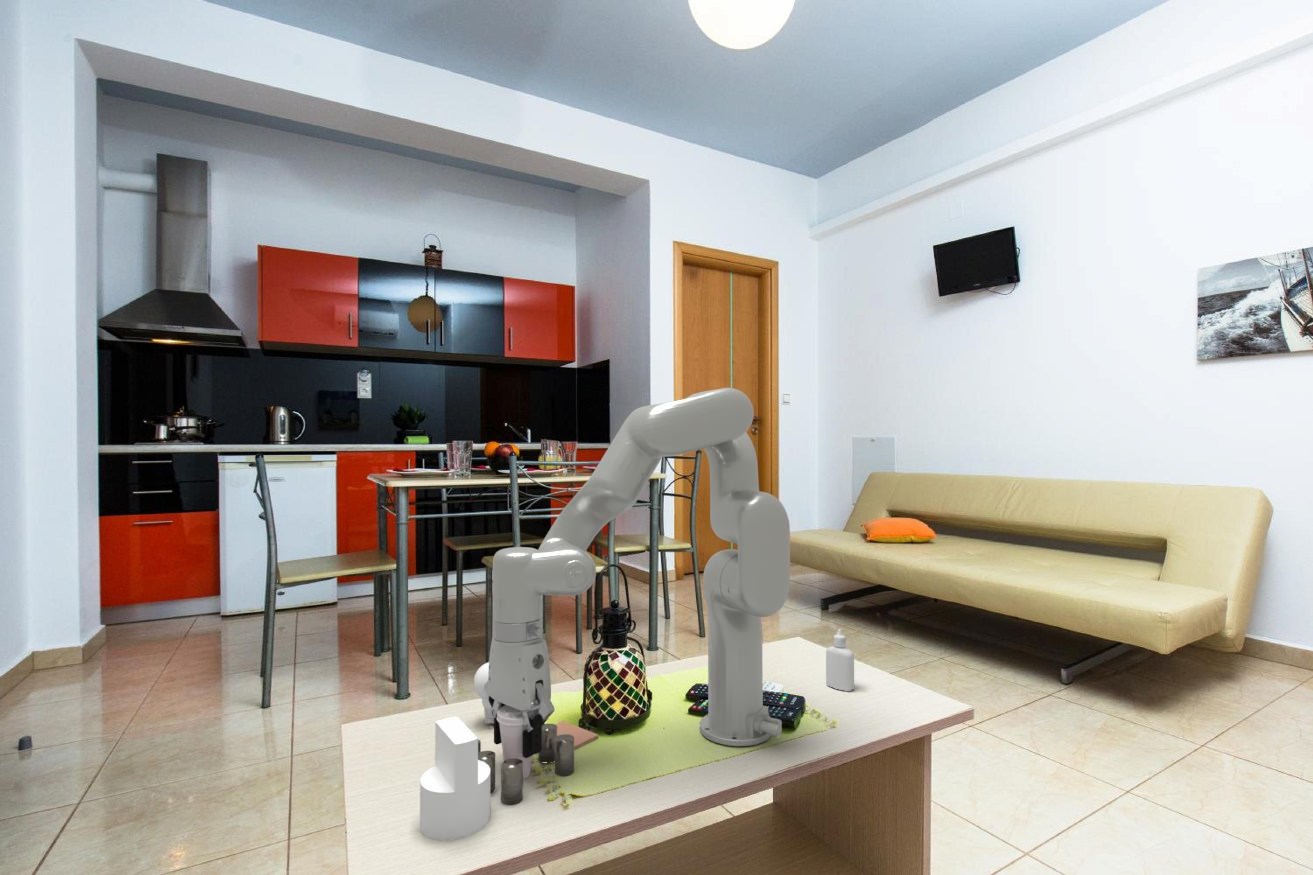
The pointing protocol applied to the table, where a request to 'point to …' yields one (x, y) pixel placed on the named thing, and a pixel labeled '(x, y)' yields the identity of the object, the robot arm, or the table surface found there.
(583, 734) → the tile
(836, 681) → the eye dropper bottle
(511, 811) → the table surface
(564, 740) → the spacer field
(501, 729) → the smoothie
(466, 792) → the base with upright slab
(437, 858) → the table surface
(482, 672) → the lightbulb
